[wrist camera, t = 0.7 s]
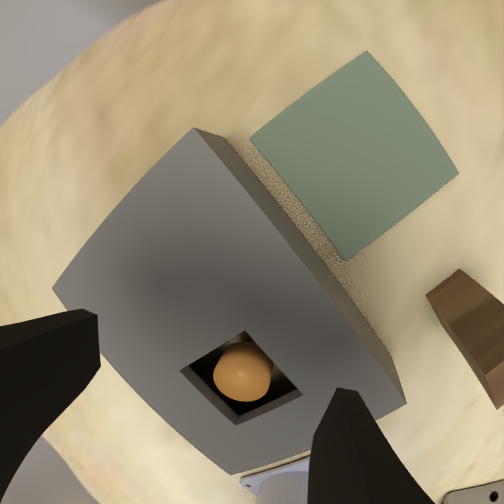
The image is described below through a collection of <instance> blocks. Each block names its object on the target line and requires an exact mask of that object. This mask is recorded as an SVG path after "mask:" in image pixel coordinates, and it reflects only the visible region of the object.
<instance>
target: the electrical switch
mask: <svg viewBox="0 0 504 504" xmlns="http://www.w3.org/2000/svg"><path fill="white" fill-rule="evenodd" d="M443 504H504V480H502V481H499V482H495V483H491V484H487V485H483V486H479V487H474V488H470V489H465V490H460V491H454V492H451V493H449V494H447V495H446V496H445V499H444V503H443Z"/></svg>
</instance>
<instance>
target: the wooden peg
mask: <svg viewBox="0 0 504 504" xmlns="http://www.w3.org/2000/svg"><path fill="white" fill-rule="evenodd" d="M426 297H427V298H428V300H429V302H430V304H431V306H432V307H433V309H434V311H435V313H436V315H437V317H438V318H439V320H440V322H441V324H442V326H443V327H444V329H445V330H446V332H447V333H448V334H449V336H450V337H451V339H452V340H453V342H454V343H455V344H456V346H457V347H458V349H459V350H460V352H461V353H462V355H463V356H464V358H465V359H466V361H467V362H468V364H469V365H470V367H471V368H472V370H473V372H474V373H475V375H476V376H477V378H478V379H479V381H480V383H481V384H482V386H483V387H484V389H485V391H486V392H487V394H488V396H489V397H490V399H491V401H492V402H493V404H494V406H495V408H496V409H499V408H500V407H501V406H503V405H504V304H503V303H501V302H500V301H499V300H498V299H497V298H496V297H494V296H493V295H492V294H491V293H490V292H488V291H487V290H486V289H485V288H483V287H482V286H481V285H480V284H478V283H477V282H476V281H475V280H473V279H472V278H471V277H470V276H468V275H467V274H466V273H464V272H463V271H462V270H461V269H458V270H457V271H456V272H455V273H454V274H452V275H451V276H450V277H449V278H447V279H446V280H445V281H443V282H442V283H441V284H440V285H438V286H437V287H436V288H434V289H433V290H432V291H430V292H429V293H428V294H426Z"/></svg>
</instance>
